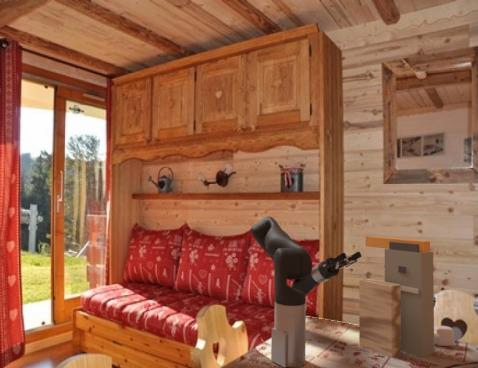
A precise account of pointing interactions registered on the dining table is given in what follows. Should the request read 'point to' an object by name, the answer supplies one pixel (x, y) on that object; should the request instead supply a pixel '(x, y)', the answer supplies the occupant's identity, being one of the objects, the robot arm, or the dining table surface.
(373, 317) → the birch block
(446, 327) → the power adapter
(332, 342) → the dining table surface
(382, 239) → the orange block
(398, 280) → the case
